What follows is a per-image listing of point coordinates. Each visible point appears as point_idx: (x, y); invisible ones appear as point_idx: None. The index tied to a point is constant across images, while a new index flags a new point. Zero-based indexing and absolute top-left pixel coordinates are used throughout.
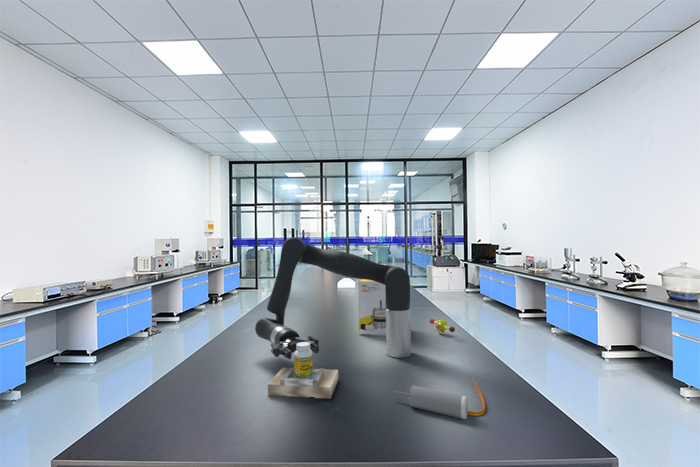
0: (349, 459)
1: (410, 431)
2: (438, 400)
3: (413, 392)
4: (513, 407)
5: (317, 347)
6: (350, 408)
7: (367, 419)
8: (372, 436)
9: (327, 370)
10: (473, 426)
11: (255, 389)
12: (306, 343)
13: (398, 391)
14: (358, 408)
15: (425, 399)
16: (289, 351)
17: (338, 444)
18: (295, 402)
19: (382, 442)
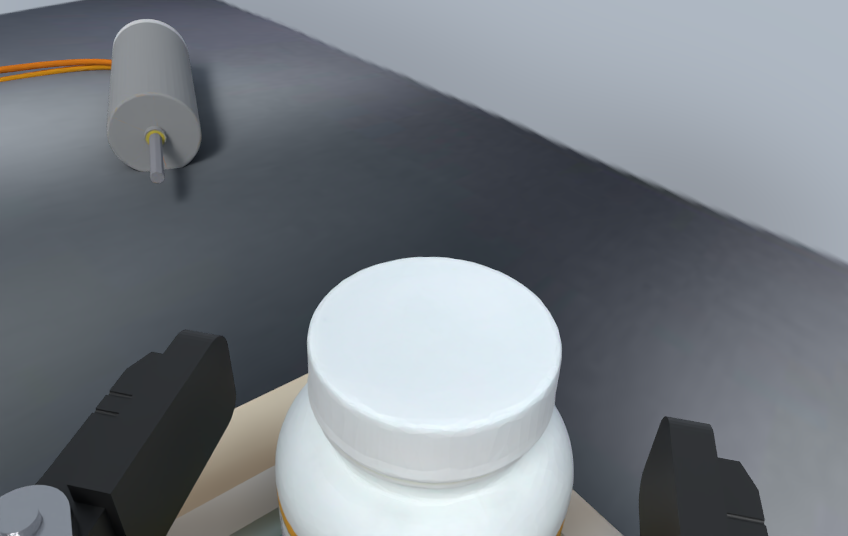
0: (596, 159)
1: (347, 127)
2: (184, 63)
3: (180, 96)
4: (23, 45)
5: (207, 336)
6: None
7: (391, 210)
8: (461, 166)
9: None
10: (203, 69)
11: None
12: (375, 314)
13: (155, 160)
14: (345, 263)
15: (191, 87)
16: (699, 425)
17: (586, 198)
18: None
19: (459, 145)
